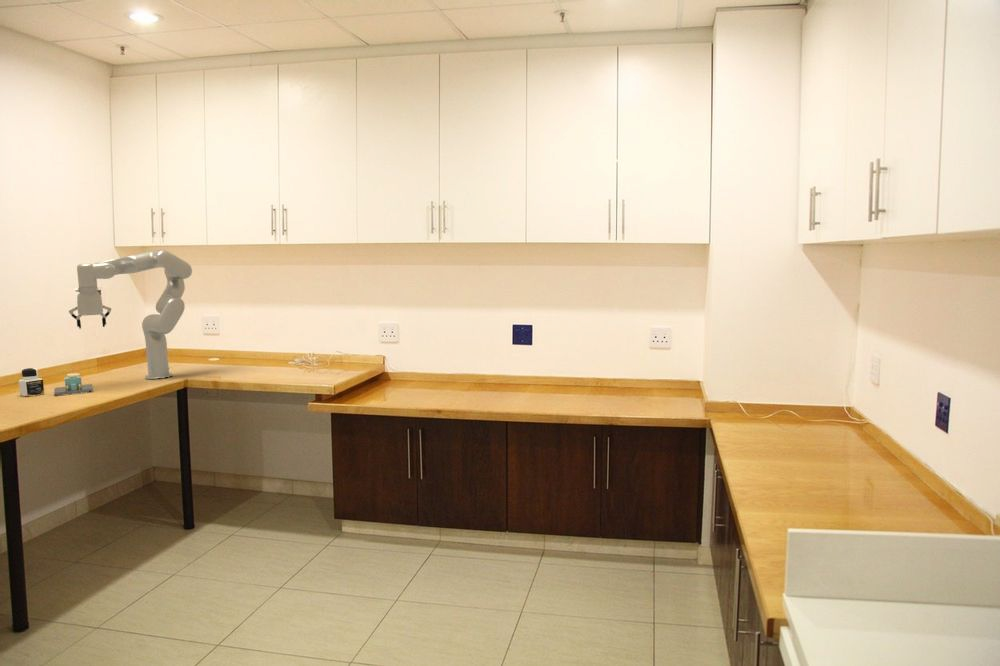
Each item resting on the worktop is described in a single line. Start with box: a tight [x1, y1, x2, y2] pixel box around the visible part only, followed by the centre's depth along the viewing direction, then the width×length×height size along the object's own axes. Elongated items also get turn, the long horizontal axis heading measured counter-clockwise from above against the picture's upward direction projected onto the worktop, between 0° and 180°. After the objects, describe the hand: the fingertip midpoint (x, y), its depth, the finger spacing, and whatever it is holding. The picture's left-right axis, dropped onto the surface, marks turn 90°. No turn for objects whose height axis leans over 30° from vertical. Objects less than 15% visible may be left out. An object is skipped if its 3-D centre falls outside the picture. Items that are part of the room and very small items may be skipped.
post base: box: [53, 383, 94, 396], centre depth 332 cm, size 15×15×6 cm
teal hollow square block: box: [64, 375, 83, 390], centre depth 331 cm, size 9×6×5 cm
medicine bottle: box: [18, 367, 45, 397], centre depth 326 cm, size 7×7×12 cm
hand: (92, 327), depth 338 cm, fingers open, 9 cm apart
